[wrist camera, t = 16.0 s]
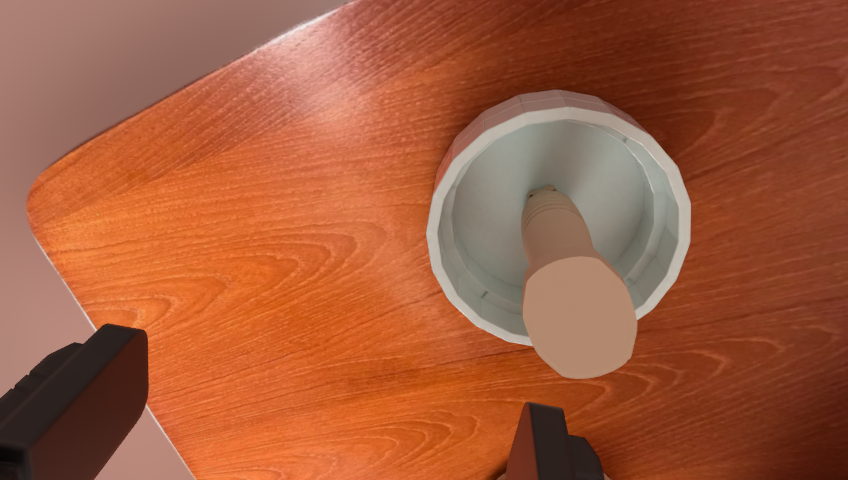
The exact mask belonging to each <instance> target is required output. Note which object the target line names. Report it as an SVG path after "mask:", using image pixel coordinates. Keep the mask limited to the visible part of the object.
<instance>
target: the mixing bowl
mask: <svg viewBox="0 0 848 480" xmlns="http://www.w3.org/2000/svg"><path fill="white" fill-rule="evenodd" d="M547 184H551V185H554V186H555V188H556V189H557V190H558V191H559V192H560V193H562V194H564V195H567V196H568V197H569V198H570V199H571V200H572V202H573V203H574V204H575V205H576V207H577V209H578V210H579V212H580V213H581V215H582V217H583V219H584V221H585V223H586V225H587V228H588V230H589V233H590V237H591V241H592V244H593V248H594V250H596V251H597V252H598V253H599V254H600V255H601V256H602V257H603V258H605V259H606V260H607V261H608V262H609V263H610V264H611V265H612V266H613V268H614V269H615V270H616V271H617V272H618V273H619V274H620V275H621V276H622V278H623V280H624V282H625V284H626V287H627V289H628V292H629V294H630V297H631V300H632V304H633V307H634V310H635V313H636V318H637V320H638V319H640V318H641V317H642V316H644V315H645V314H647V313H648V312H650V311H651V310H652V309H653V308H654V307H655V306H656V305H657V303H658V302H659V301H660V300H661V298H662V297H663V296H664V295H665V293H666V292H667V291H668V290H669V288H670V287H671V286H672V285H673V283H674V282H675V281H676V278H677V277H678V274H679V271H680V269H681V266H682V263H683V261H684V258H685V255H686V253H687V250H688V247H689V245H690V234H691V202H690V199H689V196H688V194H687V191H686V188H685V185H684V182H683V180H682V177H681V174H680V171H679V168H678V167H677V165H676V164H675V163H674V162H673V160H672V159H671V158H670V157H669V156H668V155H667V153H666V152H665V151H664V150H663V149H662V148H661V146H660V145H659V144H658V143H657V142H656V141H655V139H654V138H653V137H652V136H651V135H650V134H649V133H648V132H647V131H646V130H645V129H644V128H643V127H642V126H640V125H639V124H638V123H637V122H636V121H635V120H634V119H633V118H632V117H631V116H630V115H629V114H627V113H625V112H623V111H622V110H620V109H618V108H616V107H614V106H613V105H611V104H609V103H607V102H606V101H604V100H602V99H600V98H598V97H596V96H592V95H586V94H581V93H575V92H570V91H564V90H557V89H556V90H549V91H542V92H534V93H527V94H520V95H517V96H515V97H513V98H511V99H508V100H506V101H504V102H502V103H500V104H498V105H496V106H494V107H491V108H489V109H487V110H485V111H484V112H482V113H481V114H480V115H479V116H478V117H477V118H475V119H474V120H473V121H472V122H471V123H470V124H469V125H468V126H467V127H466V128H465V129H464V130H463V131H461V132H460V133H459V134H458V135H457V136H456V138H455V139H454V140H453V142H452V144H451V146H450V148H449V149H448V151H447V153H446V155H445V157H444V158H443V160H442V162H441V164H440V166H439V167H438V170H437V175H436V180H435V185H434V191H433V196H432V201H431V207H430V212H429V218H428V223H427V229H426V237H427V243H428V250H429V256H430V262H431V268H432V271H433V273H434V274H435V276H436V278H437V280H438V282H439V284H440V286H441V287H442V289H443V291H444V293H445V295H446V297H447V299H448V300H449V301H450V302H451V303H452V304H453V305H454V306H455V307H456V308H457V309H458V310H459V311H460V312H462V313H463V314H464V315H465V316H466V317H467V318H468V319H469V320H470V321H471V322H472V323H473V324H474V325H476V326H477V327H479V328H481V329H483V330H485V331H487V332H489V333H491V334H493V335H495V336H497V337H499V338H501V339H504V340H506V341H509V342H513V343H518V344H524V345H529V346H533V345H532V343H531V340H530V337H529V335H528V332H527V330H526V327H525V323H524V320H523V315H522V309H521V302H522V291H523V283H524V277H525V272H526V270H527V269H528V268H529V264H528V260H527V257H526V254H525V251H524V248H523V241H522V234H521V218H522V211H523V209H524V206H525V204H526V203H527V193H528V192H529V191H530V190H532V189H533V190H538V189H541V188H543V187H545V186H546V185H547Z"/></svg>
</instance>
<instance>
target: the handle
mask: <svg viewBox="0 0 848 480" xmlns="http://www.w3.org/2000/svg"><path fill="white" fill-rule="evenodd" d="M521 234H522V241H523V248H524V251H525V254H526V257H527V260H528V264H529V268H528V269H527V270H526V272H525V277H524V283H523V291H522V302H521V309H522V315H523V320H524V323H525V327H526V330H527V332H528V335H529V337H530V340H531V343H532V345H533V347H534V349H535V351H536V352H537V353H538V355H539V356H540V357H541V358H542V359H543V360H544V361H545V362H546V363H547V364H548V365H550V366H551V367H552V368H553V369H554V370H555V371H557V372H558V373H559V374H560V375H561V376H563V377H567V378H574V379H585V378H592V377H597V376H601V375H604V374H607V373H610V372H612V371H614V370H616V369H618V368H619V367H621V366H622V365H623V364H625V363H626V362H627V361H628V360H629V359H630V358H631V355H632V351H633V347H634V343H635V338H636V333H637V318H636V313H635V310H634V307H633V304H632V300H631V297H630V294H629V292H628V289H627V287H626V284H625V282H624V280H623V278H622V276H621V275H620V274H619V273H618V272H617V271H616V270H615V269H614V268H613V266H612V265H611V264H610V263H609V262H608V261H607V260H606V259H605V258H603V257H602V256H601V255H600V254H599V253H598V252H597V251H596V250H594V248H593V244H592V241H591V237H590V233H589V230H588V228H587V225H586V223H585V221H584V219H583V217H582V215H581V213H580V212H579V210H578V209H577V207H576V205H575V204H574V203H573V202H572V200H571V199H570V198H569V197H568V196H567V195H564V194H562V193H560V192H559V191H558V190H557V189H556V188H555V186H554V185H551V184H547V185H546V186H545V187H543V188H541V189H538V190H533V189H532V190H530V191H529V192H528V193H527V203H526V204H525V206H524V209H523V211H522V218H521Z"/></svg>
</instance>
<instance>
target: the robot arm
mask: <svg viewBox="0 0 848 480" xmlns="http://www.w3.org/2000/svg"><path fill="white" fill-rule="evenodd" d="M148 388H149V386H148V338H147V334H146V332H145V331H144V330H141V329H136V328H130V327H125V326H120V325H114V324H105V325H103V326H102V327H101V328H100V329H99V330H98V331H96V332H95V333H94V334H93V335H92V336H91V337H90V338H89V339H88V340H87V341H86V342H85V343H84V344H80V343H75V342H74V343H72V344H70V345H68V346H66V347H64V348H62V349H60V350H57V351H55V352H53V353H51V354H49V355H48V356H47V357H45V358H44V359H43V360H42V361H41V362H40V363H39V364H38V365H37V366H35V367H34V368H33V369H32V370H31V371H30V374H29V375H26V376H25V377H23V378H22V379H21V380H20V381H19V382H18V383H17V384H16V385H15V388H14V389H10V390H9V391H8V392H7V393H6V394H5V395H3V396H2V397H1V398H0V480H94V479H95V478H96V476H97V475H98V474H99V472H100V471H101V470H102V468H103V467H104V466H105V464H106V463H107V462H108V460H109V459H110V457H111V456H112V455H113V454H114V452H115V451H116V449H117V448H118V447H119V445H120V444H121V443H122V441H123V440H124V439H125V437H126V436H127V435H128V433H129V432H130V431H131V429H132V428H133V427H134V425H135V424H136V423H137V421H138V420H139V418H140V417H141V415H142V412H143V410H144V408H145V405H146V402H147V397H148ZM604 479H605V478H604V474H603V470H602V466H601V462H600V459H599V457H598V455H597V454H596V453H595V451H594V450H593V448H592V447H591V446H590V444H589V443H588V442H587V440H586V439H585V438H583V437H578V436H573V435H568V431H567V426H566V421H565V416H564V411H563V409H562V408H559V407H553V406H548V405H542V404H537V403H531V402H526V403H525V405H524V407H523V410H522V413H521V417H520V420H519V424H518V427H517V431H516V434H515V437H514V441H513V444H512V448H511V451H510V455H509V459H508V463H507V469H506V479H505V480H604Z"/></svg>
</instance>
